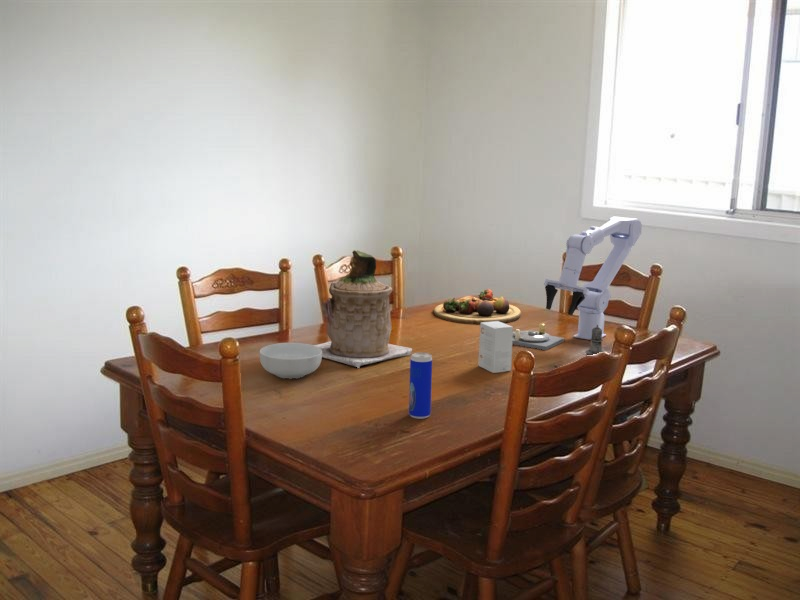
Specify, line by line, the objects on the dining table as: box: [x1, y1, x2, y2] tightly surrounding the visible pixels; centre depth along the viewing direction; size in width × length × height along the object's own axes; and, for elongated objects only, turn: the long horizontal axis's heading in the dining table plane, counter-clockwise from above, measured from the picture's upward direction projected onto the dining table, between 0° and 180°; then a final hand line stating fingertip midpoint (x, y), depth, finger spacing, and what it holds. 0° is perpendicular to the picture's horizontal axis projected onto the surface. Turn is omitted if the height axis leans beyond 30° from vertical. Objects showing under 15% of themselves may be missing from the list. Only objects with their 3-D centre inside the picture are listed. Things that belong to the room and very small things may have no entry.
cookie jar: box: [312, 249, 413, 369], centre depth 252 cm, size 25×25×32 cm
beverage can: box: [408, 352, 433, 420], centre depth 201 cm, size 5×5×15 cm
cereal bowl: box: [259, 342, 323, 380], centre depth 232 cm, size 17×17×7 cm
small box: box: [477, 321, 514, 374], centre depth 242 cm, size 8×6×13 cm
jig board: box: [512, 328, 565, 351], centre depth 274 cm, size 14×16×5 cm
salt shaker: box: [584, 325, 604, 357], centre depth 249 cm, size 6×6×12 cm
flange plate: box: [513, 323, 551, 342], centre depth 274 cm, size 11×13×4 cm
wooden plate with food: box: [433, 288, 522, 325], centre depth 311 cm, size 32×32×8 cm
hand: (558, 311), depth 269 cm, fingers open, 7 cm apart
